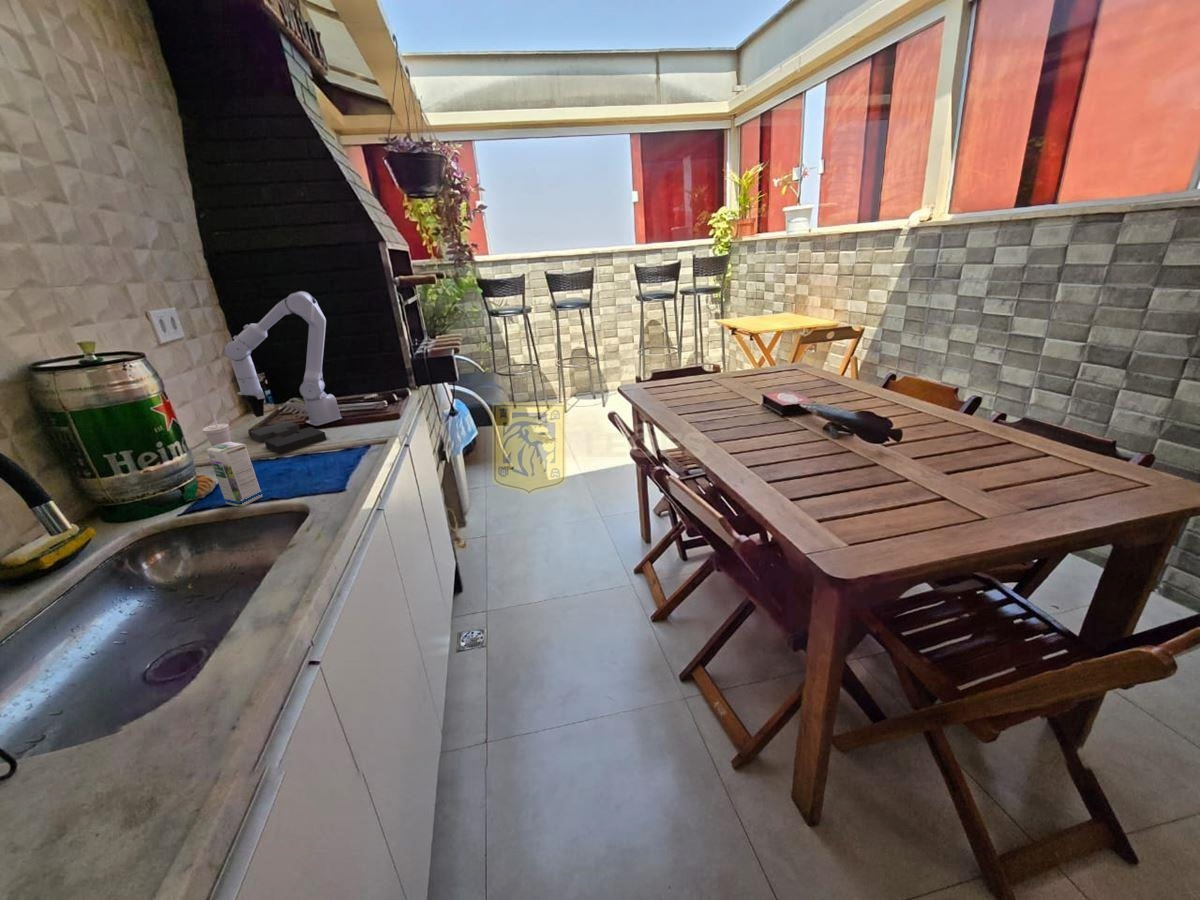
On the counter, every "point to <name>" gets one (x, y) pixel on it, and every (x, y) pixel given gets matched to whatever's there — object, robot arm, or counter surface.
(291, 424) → the loose pad
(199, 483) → the pastry
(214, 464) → the syrup box
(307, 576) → the counter surface
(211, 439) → the smoothie
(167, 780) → the counter surface
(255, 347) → the robot arm
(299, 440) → the base pad
